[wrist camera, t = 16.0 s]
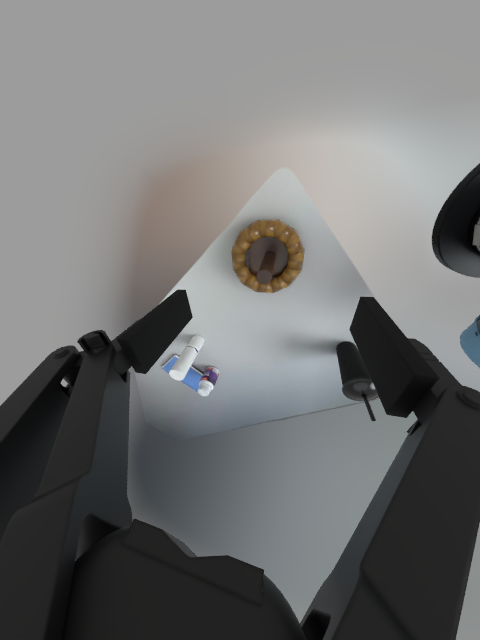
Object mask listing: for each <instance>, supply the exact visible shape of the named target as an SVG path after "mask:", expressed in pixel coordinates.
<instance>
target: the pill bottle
mask: <svg viewBox="0 0 480 640" xmlns="http://www.w3.org/2000/svg"><path fill="white" fill-rule="evenodd" d="M218 375H219V370H218V369H217V368H215V367H212V366H209V367H207V368H206V370H205V372H204V374H203V376H202V378H201V380H200V382H199V389H198V393H199V394H200V395H202V396H208V395H209V393H210V391H212V390H213V388H214V385H215V383H216V380H217V378H218Z"/></svg>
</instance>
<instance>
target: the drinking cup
mask: <svg viewBox="0 0 480 640" xmlns="http://www.w3.org/2000/svg"><path fill="white" fill-rule="evenodd" d="M336 350H337V356H338V362H339V367H340V373H341V379H342V384H343V387H342V391H343V394H344V395H345V396H346V397H347V398H349V399H352V400H355V401H365V404H366V407H367V409H368V412H369V415H370V417H371V420H372V421H375V420H376V419H375V417H374V414H373V412H372V410H371V407H370V404H369V402H368V401H370V400H373V399H376V398H378V397H379V396H378V393H377V391H376V389H375V386H374V384H373V382H372V380H371V377H370V375H369V373H368V370H367V368H366V366H365V364H364V361H363V359H362V357H361V355H360V352H359V351H358V349H357V347H356V346H355V345H354V344H353V343H351V342H343V343H340V344H339V345H338V346H337V348H336Z"/></svg>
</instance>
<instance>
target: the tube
mask: <svg viewBox="0 0 480 640" xmlns="http://www.w3.org/2000/svg"><path fill="white" fill-rule="evenodd" d="M203 344H204V339H203V338H202V337H201V336H199V335H194V336H193V337H192V339H191V340H190V342H189V343H188V345H187V346H186V348H185V349H184V351H183V352H182V354H181V355H180V357H179V358H178V360H177V361H176V363H175V364H174V366H173V367H172V369H171V370H170V372H169V374H170V376H171V377H172V378H173V379H175V380H183V379H184V377H185V375H186V374H187V372H188V370H189V368H190V367H191V365H192V363H193V361H194V360H195V358H196V356H197V354H198V353H199V351H200V349H201V347H202V346H203Z"/></svg>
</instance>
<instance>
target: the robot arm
mask: <svg viewBox="0 0 480 640" xmlns="http://www.w3.org/2000/svg"><path fill="white" fill-rule="evenodd" d="M468 239H469V243H470V245H471V247H472V249H473V250H474V251H475V252H477V253H478V254H480V207H479V208H478V210H477V211H476V213H475V215H474V217H473V219H472V221H471V224H470V227H469V232H468ZM192 318H193V317H192V313H191V309H190V305H189V301H188V297H187V293H186V290H177V291H175V292H174V293H173V294H172V295H170V296H169V297H168V298H167V299H165V300H164V301H163V302H162V303H160V304H159V305H158V306H157V307H156V308H154V309H153V310H152V311H151V312H149V313H148V314H147V315H146V316H144V317H143V318H142V319H140V320H138V321H136V322H135V323H134V324H133V325H132V326H130V327H129V328H128V329H127V330H125V331H124V332H123V333H121V334H120V335H119V336H117V337H116V338H115V339H114V340H112V341H110V339H109V338H108V336H107V334H106V333H105V331H103V330H97V331H93V332H90V333H88V334H86V335H84V336H82V337H81V338H79V340H78V343H79V344H80V346H81V347H82V348H83V350H84V351H81V352H79V351H78V350H77V349H76V347H75V346H66V347H61V348H59V349H57V350H56V351H54V352H52V353H51V354H50V355H49V356H48V357H47V358H46V359H45V360H44V361H43V362H42V363H41V364H40V365H39V366H38V367H37V368H36V369H35V370H34V371H33V372H32V373H31V374H30V376H28V378H27V379H26V380H25V381H24V382H23V383H22V384H21V385H20V386H19V387H18V388H17V389H16V390H15V391H14V392H13V393H12V394H11V395H10V396H9V397H8V399H7V400H6V401H5V402H4V403H3V404H2V405H1V406H0V640H456V634H457V630H458V625H459V620H460V615H461V610H462V606H463V601H464V596H465V591H466V586H467V581H468V576H469V571H470V567H471V561H472V557H473V552H474V547H475V542H476V537H477V532H478V528H479V522H480V392H478V391H477V390H474V389H472V388H469V387H466V386H462V385H461V384H460V383H459V382H458V381H457V380H456V379H455V378H454V376H453V375H452V374H451V373H450V372H449V371H448V370H447V369H446V368H445V367H444V365H443V364H442V363H441V362H439V360H438V359H437V358H436V357H435V356H434V355H433V353H432V352H431V351H430V350H429V349H428V348H427V347H426V346H425V345H424V344H422V343H421V342H419V341H417V340H416V339H408V338H407V337H406V336H405V335H404V334H403V333H402V331H401V330H400V329H399V328H398V326H397V325H396V324H395V323H394V322H393V320H392V319H391V318H390V317H389V316H388V314H387V313H386V312H385V311H384V309H383V308H382V307H381V306H380V305H379V303H378V302H377V301H376V300H375V298H374V297H360V300H359V303H358V306H357V309H356V312H355V315H354V318H353V321H352V324H351V327H350V332H351V334H352V336H353V339H354V341H355V343H356V345H357V348H358V350H359V352H360V355H361V357H362V359H363V361H364V364H365V366H366V368H367V370H368V373H369V375H370V377H371V380H372V382H373V384H374V386H375V389H376V391H377V393H378V396H379V398H380V400H381V402H382V405H383V407H384V409H385V412H386V414H387V415H392V416H398V417H404V418H407V417H408V415H409V414H410V413H411V412H412V411H414V413H415V415H416V416H417V418H418V420H417V421H416V422H415V423H414V424H413V425H412V426H411V427H410V429H409V430H408V431H407V432H408V433H409V434H408V436H407V437H406V439H405V441H404V443H403V445H402V446H401V448H400V450H399V452H398V454H397V455H396V457H395V459H394V461H393V463H392V465H391V466H390V468H389V470H388V472H387V474H386V475H385V477H384V479H383V481H382V483H381V484H380V486H379V488H378V490H377V492H376V494H375V495H374V497H373V499H372V501H371V503H370V504H369V506H368V508H367V510H366V512H365V513H364V515H363V517H362V519H361V521H360V522H359V524H358V526H357V528H356V530H355V532H354V534H353V535H352V537H351V539H350V541H349V542H348V544H347V546H346V548H345V550H344V552H343V553H342V555H341V557H340V559H339V561H338V562H337V564H336V566H335V568H334V569H333V571H332V573H331V574H330V575H329V576H328V578H327V579H326V580H325V581H324V583H323V585H322V586H321V587H320V589H319V591H318V592H317V594H316V596H315V598H314V599H313V601H312V603H311V605H310V607H309V608H308V610H307V612H306V614H305V616H304V617H303V619H302V621H301V623H299V622H298V619H297V617H296V616H295V614H294V612H293V611H292V608H291V606H290V605H289V603H288V602H287V600H286V599H285V598H284V596H283V594H282V593H281V591H280V590H279V589H278V588H277V587H276V586H275V584H274V583H273V582H272V581H271V580H270V579H269V578H268V577H266V576H265V575H264V570H263V569H261V568H258V567H255V566H253V565H250V564H248V563H245V562H243V561H240V560H238V559H235V558H233V557H230V556H208V557H197V556H196V555H195V554H194V553H193V552H192V551H191V550H190V549H189V548H188V547H187V546H186V545H185V544H184V543H183V542H182V541H180V540H179V539H177V538H175V537H174V536H172V535H170V534H169V533H167V532H165V531H164V530H162V529H160V528H157V527H155V526H152V525H150V524H147V523H145V522H142V521H139V520H137V519H134V520H133V522H132V512H131V507H130V504H129V501H128V497H127V469H128V434H129V398H130V397H129V396H130V372H129V370H128V369H129V368H130V367H131V366H132V367H133V368H134V370H135V372H137V373H143V374H146V373H147V372H148V371H149V370H150V368H151V367H152V366H153V365H154V363H155V362H156V361H157V360H158V359H159V357H160V356H161V355H162V354H163V353H164V351H165V350H166V349H167V348H168V347H169V345H170V344H171V343H172V342H173V341H174V339H175V338H176V337H177V336H178V334H179V333H180V332H181V331H182V330H183V328H184V327H185V326H186V325H187V324H188V322H189V321H190V320H191V319H192ZM460 344H461V347H462V349H463V350H464V352H465V353H466V354H467V356H468V357H469V358H470V359H471V360H472V361H473V362H474V363H475V364H476V365H477V366H478V367H479V368H480V315H479V316H478V317H477V318H476V319H475V321H474V323H473V324H472V325H470V326H469V327H468V328H467V329H466V330H464V331H463V333H462V334H461V336H460ZM62 379H64V380H65V381H66V382H67V383H68V385H67V386H66V387H63V386H62V385H61V384H60V383H61V381H62ZM36 493H37V494H36ZM35 495H36V496H35ZM75 560H76V561H75ZM263 577H264V579H263ZM262 590H263V592H262Z"/></svg>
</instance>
